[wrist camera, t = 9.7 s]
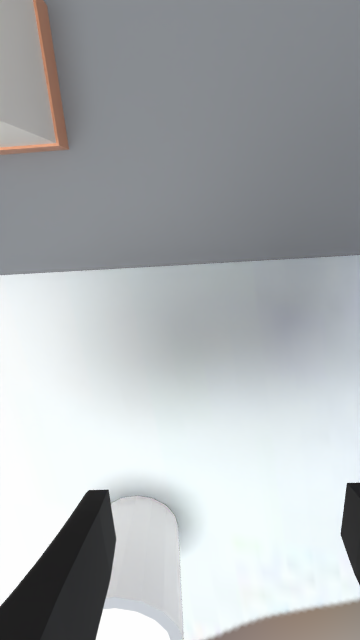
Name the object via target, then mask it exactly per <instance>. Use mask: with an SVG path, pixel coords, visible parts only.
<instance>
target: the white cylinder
mask: <svg viewBox="0 0 360 640" xmlns="http://www.w3.org/2000/svg"><path fill="white" fill-rule="evenodd" d="M111 509H112V515H113V521H114V527H115V533H116V546H115V553H114V560H113V566H112V573H111V579H110V583H109V587H108V591H107V595H106V599H105V603H104V608H103V612H102V616H101V620H100V624H99V628H98V632H97V636H96V640H184V632H183V612H182V592H181V573H180V553H179V533H178V524H177V521H176V518H175V515H174V514H173V513H172V511H171V510H170V509H169V508H168V507H167V506H166V505H165V504H163V503H161V502H159V501H157V500H155V499H153V498H148V497H142V496H130V497H123V498H120V499H118V500H116V501H115V502H113V503H111Z"/></svg>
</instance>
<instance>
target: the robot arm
mask: <svg viewBox="0 0 360 640" xmlns="http://www.w3.org/2000/svg"><path fill="white" fill-rule="evenodd" d="M341 537H342V540H343V542H344V545H345V548H346V551H347V554H348V557H349V560H350V563H351V565H352V568H353V571H354V574H355V576H356V578H357V580H358V582H359V585H360V483H347V487H346V495H345V503H344V512H343V520H342V528H341ZM115 546H116V533H115V527H114V521H113V515H112V509H111V503H110V496H109V490H89V491H88V492H87V493H86V494H85V495H84V497H83V498H82V500H81V501H80V503H79V504H78V506H77V507H76V509H75V510H74V512H73V513H72V515H71V516H70V518H69V519H68V520H67V522H66V523H65V525H64V526H63V527H62V529H61V530H60V532H59V533H58V534H57V536H56V537H55V539H54V540H53V541H52V543H51V544H50V545H49V547H48V548H47V549H46V551H45V552H44V553H43V555H42V556H41V557H40V559H39V560H38V561H37V562H36V564H35V565H34V566H33V567H32V569H31V570H30V571H29V572H28V574H27V575H26V576H25V577H24V579H23V580H22V581H21V582H20V584H19V585H18V586H17V587H16V589H15V590H14V591H13V592H12V593H11V595H10V596H9V597H8V598H7V599H6V600H5V602H4V603H3V604H2V605H1V606H0V640H96V636H97V632H98V628H99V624H100V620H101V616H102V612H103V608H104V603H105V599H106V595H107V591H108V587H109V583H110V579H111V573H112V566H113V560H114V553H115Z"/></svg>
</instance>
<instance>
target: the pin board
mask: <svg viewBox="0 0 360 640" xmlns="http://www.w3.org/2000/svg"><path fill="white" fill-rule="evenodd" d="M43 1H44V2H45V3H46V5H47V9H48V15H49V22H50V29H51V35H52V42H53V48H54V55H55V61H56V68H57V74H58V81H59V87H60V94H61V100H62V107H63V113H64V120H65V127H66V133H67V140H68V146H69V150H57V151H44V152H31V153H18V154H5V155H0V275H11V274H29V273H46V272H64V271H82V270H100V269H117V268H135V267H153V266H170V265H188V264H206V263H224V262H241V261H259V260H277V259H294V258H312V257H330V256H348V255H360V0H43Z"/></svg>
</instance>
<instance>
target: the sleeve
mask: <svg viewBox="0 0 360 640" xmlns="http://www.w3.org/2000/svg"><path fill="white" fill-rule="evenodd" d="M57 150H69V146H68V140H67V133H66V127H65V120H64V113H63V107H62V100H61V94H60V87H59V81H58V74H57V68H56V61H55V55H54V48H53V42H52V35H51V29H50V22H49V15H48V9H47V5H46V3H45V2H44V1H43V0H0V155H5V154H18V153H31V152H44V151H57Z"/></svg>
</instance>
